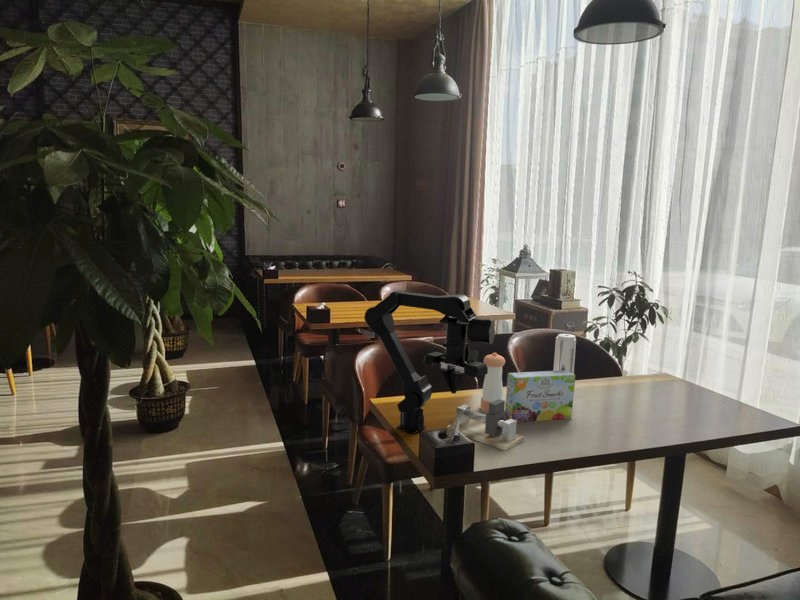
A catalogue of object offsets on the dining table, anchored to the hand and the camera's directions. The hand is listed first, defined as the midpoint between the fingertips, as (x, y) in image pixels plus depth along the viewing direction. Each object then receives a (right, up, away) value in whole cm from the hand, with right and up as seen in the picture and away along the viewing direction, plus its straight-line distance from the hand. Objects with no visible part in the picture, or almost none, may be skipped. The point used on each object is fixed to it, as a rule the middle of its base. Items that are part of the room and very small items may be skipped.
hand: (453, 393), depth 160 cm
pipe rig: (+9, -12, +4) cm, 15 cm away
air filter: (+39, -10, +30) cm, 50 cm away
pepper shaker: (+15, -10, +26) cm, 31 cm away
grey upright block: (+12, -11, +1) cm, 17 cm away
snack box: (+29, -11, +19) cm, 36 cm away
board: (+9, -13, +4) cm, 16 cm away
